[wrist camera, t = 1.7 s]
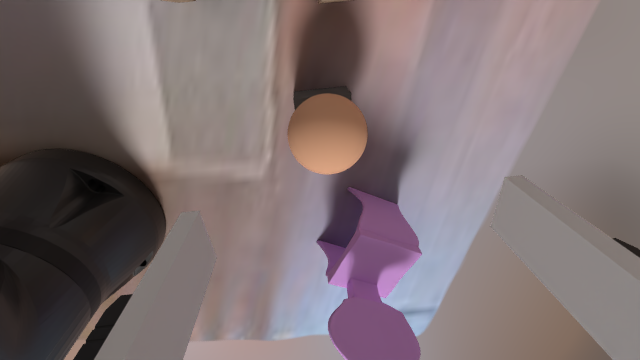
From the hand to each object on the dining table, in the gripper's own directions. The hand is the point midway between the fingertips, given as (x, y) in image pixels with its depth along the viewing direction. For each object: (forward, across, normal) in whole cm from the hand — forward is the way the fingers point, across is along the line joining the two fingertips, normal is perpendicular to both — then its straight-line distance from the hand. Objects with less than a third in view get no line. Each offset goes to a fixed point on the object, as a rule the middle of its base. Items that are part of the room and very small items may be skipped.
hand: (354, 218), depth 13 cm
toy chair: (+16, +3, -13) cm, 21 cm away
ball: (+13, 0, 0) cm, 13 cm away
